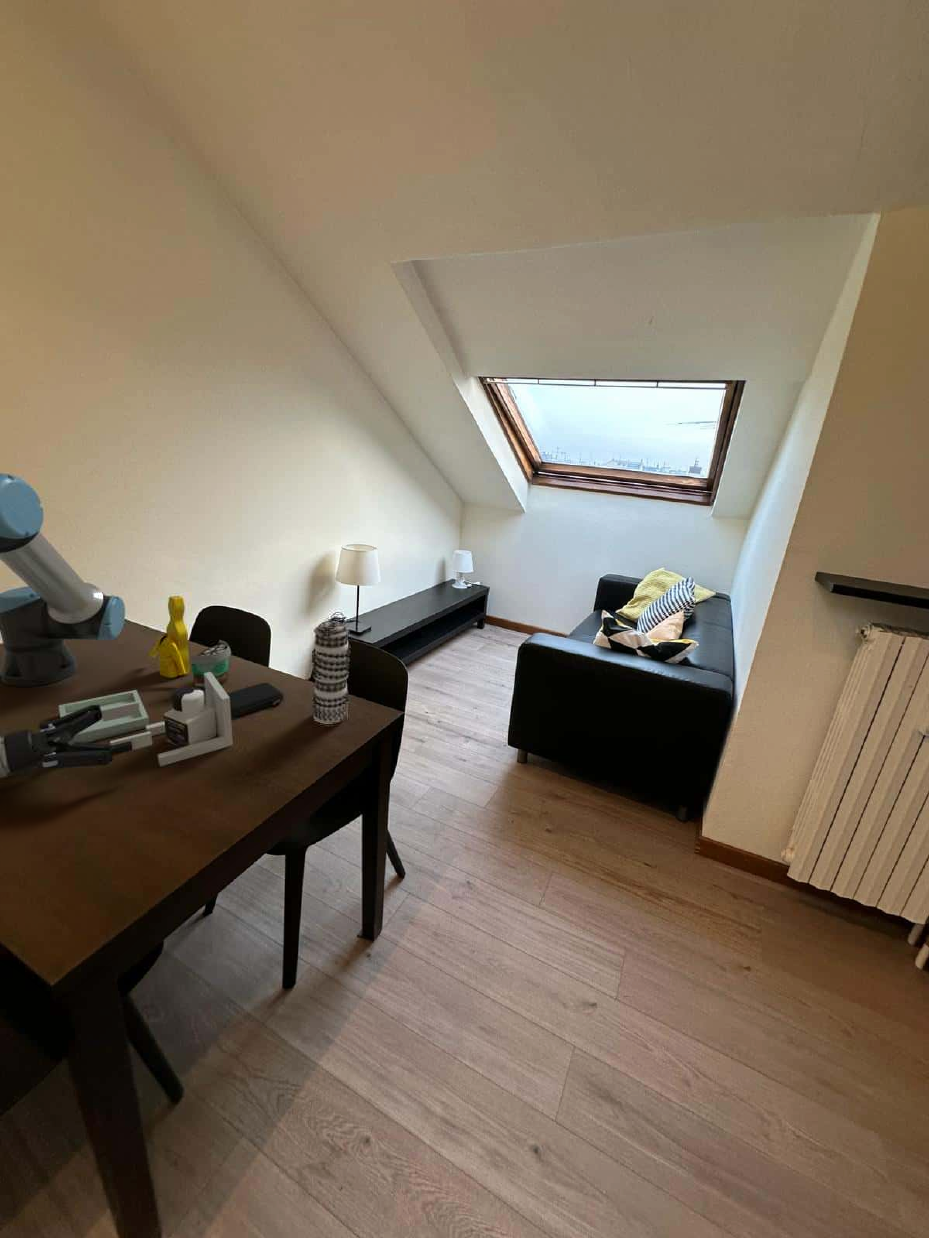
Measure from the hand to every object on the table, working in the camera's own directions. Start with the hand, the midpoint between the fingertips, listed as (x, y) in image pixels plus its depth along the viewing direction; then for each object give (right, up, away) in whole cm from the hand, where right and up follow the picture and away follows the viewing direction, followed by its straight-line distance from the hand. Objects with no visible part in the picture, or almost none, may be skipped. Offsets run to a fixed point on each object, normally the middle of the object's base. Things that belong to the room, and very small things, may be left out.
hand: (145, 721), depth 101 cm
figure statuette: (-14, +6, +35) cm, 38 cm away
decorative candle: (+32, -3, +22) cm, 40 cm away
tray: (-16, -2, +11) cm, 20 cm away
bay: (+5, -5, +8) cm, 11 cm away
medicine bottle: (+5, -6, +8) cm, 11 cm away
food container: (-1, +4, +32) cm, 33 cm away
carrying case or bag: (+12, -1, +24) cm, 27 cm away
